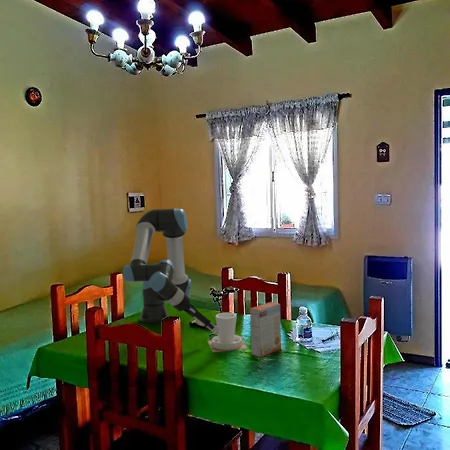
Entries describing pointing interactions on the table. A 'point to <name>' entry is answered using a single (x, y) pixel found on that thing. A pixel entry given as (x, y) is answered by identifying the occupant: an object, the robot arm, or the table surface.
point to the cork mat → (226, 350)
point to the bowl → (230, 346)
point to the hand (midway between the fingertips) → (210, 327)
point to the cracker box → (265, 329)
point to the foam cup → (226, 327)
